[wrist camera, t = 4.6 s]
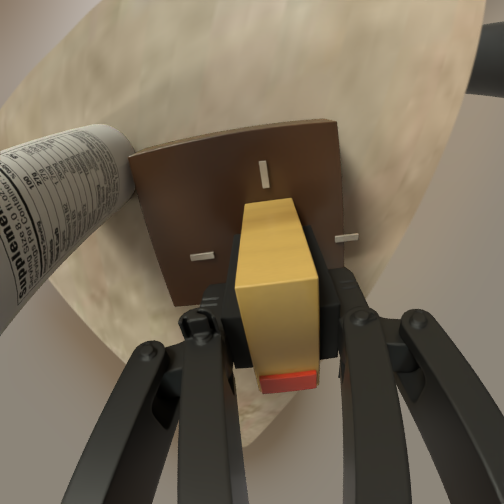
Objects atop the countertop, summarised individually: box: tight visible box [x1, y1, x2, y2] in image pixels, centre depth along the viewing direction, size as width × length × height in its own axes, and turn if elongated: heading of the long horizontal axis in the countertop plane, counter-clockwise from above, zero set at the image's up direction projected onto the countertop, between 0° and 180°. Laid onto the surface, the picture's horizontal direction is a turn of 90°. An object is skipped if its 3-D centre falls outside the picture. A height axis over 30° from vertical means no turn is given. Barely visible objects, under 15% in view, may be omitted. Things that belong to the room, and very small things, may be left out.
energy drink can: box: [0, 124, 135, 336], centre depth 10 cm, size 6×6×15 cm
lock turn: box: [235, 198, 320, 394], centre depth 13 cm, size 6×2×8 cm, turn 9°
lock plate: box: [128, 119, 359, 307], centre depth 17 cm, size 12×11×3 cm
